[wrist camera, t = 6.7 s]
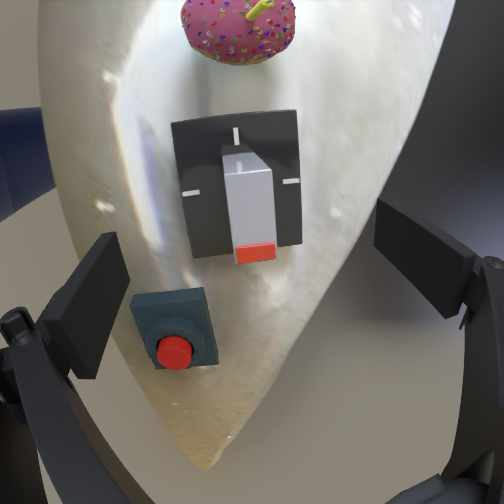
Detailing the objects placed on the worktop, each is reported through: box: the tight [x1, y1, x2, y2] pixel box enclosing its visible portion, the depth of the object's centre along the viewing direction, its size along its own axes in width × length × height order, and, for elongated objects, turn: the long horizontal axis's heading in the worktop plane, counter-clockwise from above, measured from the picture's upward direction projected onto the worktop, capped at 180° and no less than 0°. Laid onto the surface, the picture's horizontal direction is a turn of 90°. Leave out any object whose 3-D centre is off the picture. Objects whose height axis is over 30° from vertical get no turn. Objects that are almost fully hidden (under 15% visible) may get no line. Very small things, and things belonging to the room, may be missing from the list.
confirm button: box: [157, 336, 192, 370], centre depth 29 cm, size 4×4×2 cm
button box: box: [130, 287, 219, 369], centre depth 31 cm, size 10×8×4 cm
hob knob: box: [222, 152, 278, 264], centre depth 20 cm, size 6×3×8 cm, turn 5°
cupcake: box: [181, 0, 296, 66], centre depth 15 cm, size 9×8×12 cm
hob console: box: [171, 110, 302, 258], centre depth 25 cm, size 12×10×3 cm
